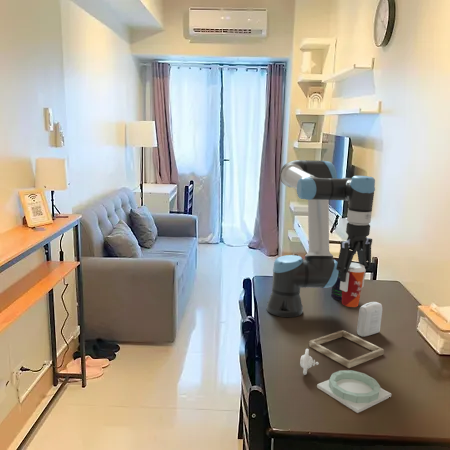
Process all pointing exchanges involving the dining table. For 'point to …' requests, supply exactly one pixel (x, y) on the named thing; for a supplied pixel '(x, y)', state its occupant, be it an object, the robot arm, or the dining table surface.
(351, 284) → the paper cup
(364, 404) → the cup holder
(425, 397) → the dining table surface
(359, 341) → the tray frame
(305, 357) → the ring around a ball
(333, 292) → the storage jar
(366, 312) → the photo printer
